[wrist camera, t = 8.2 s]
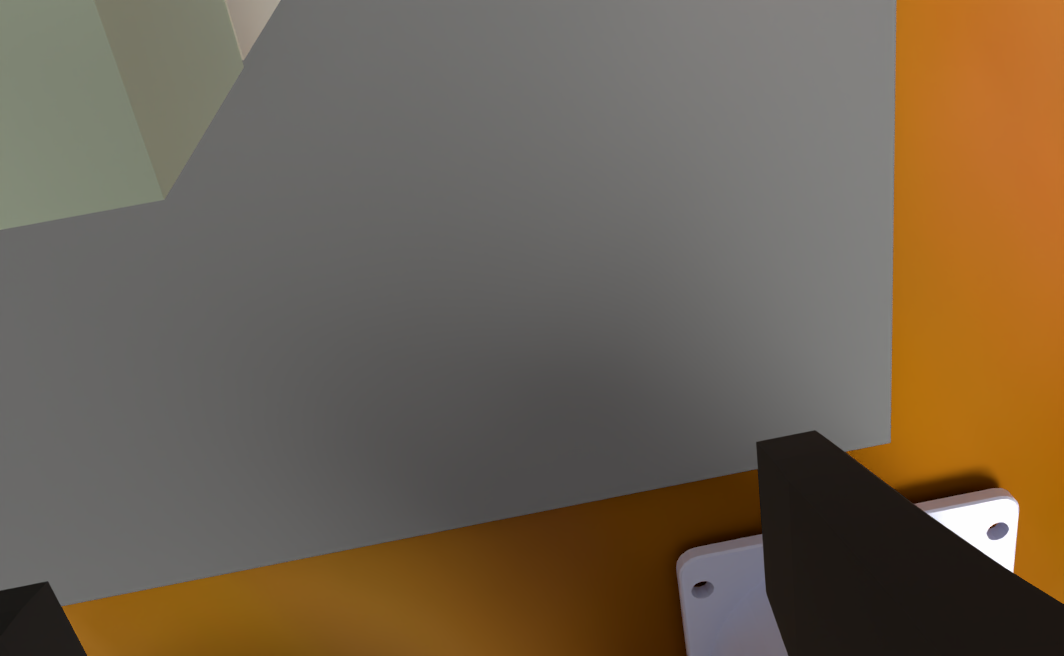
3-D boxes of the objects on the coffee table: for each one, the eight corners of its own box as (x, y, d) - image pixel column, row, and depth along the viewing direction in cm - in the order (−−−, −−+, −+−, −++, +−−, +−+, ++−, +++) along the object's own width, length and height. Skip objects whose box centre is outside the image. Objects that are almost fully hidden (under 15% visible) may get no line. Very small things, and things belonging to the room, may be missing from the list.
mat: (883, 432, 23) (890, 442, 22) (-96, 625, 22) (-105, 638, 22) (893, -839, 13) (907, -857, 13) (-834, -537, 13) (-868, -545, 12)
